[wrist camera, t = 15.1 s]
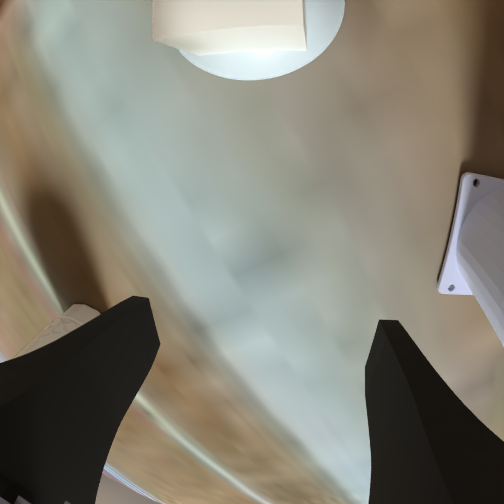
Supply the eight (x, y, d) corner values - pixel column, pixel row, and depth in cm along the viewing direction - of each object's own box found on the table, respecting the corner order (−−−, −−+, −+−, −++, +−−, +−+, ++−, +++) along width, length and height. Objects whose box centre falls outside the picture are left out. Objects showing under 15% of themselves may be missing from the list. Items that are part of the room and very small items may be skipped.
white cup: (52, 304, 27) (-8, 366, 18) (95, 290, 24) (22, 367, 15) (94, 362, 29) (47, 428, 21) (142, 358, 27) (92, 441, 18)
